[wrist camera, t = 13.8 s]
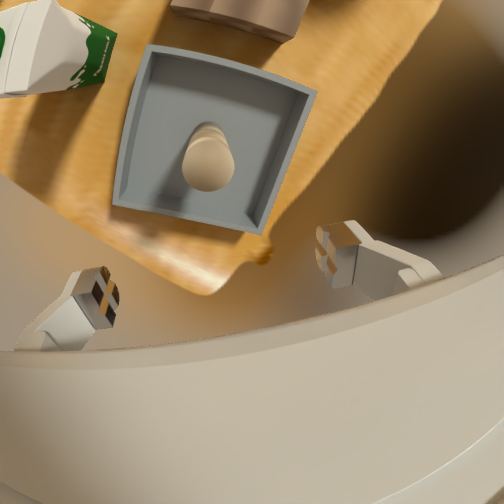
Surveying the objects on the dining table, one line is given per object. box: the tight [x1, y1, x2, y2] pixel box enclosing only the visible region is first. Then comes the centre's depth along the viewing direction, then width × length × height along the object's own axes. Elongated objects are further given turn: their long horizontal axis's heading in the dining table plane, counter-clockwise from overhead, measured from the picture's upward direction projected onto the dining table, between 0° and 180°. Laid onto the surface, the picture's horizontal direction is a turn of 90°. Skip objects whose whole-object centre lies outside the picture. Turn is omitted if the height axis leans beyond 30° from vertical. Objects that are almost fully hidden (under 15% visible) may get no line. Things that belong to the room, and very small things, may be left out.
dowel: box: [182, 122, 234, 192], centre depth 26 cm, size 4×4×14 cm
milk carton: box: [0, 0, 117, 98], centre depth 14 cm, size 9×9×20 cm
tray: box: [112, 44, 318, 235], centre depth 30 cm, size 20×20×5 cm
